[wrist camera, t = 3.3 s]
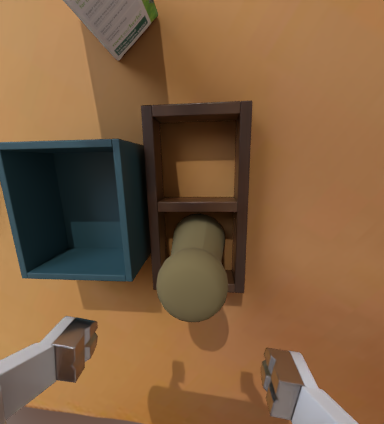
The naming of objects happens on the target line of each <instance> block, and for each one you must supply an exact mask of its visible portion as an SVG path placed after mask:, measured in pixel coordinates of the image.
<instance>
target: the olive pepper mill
mask: <svg viewBox="0 0 384 424" xmlns="http://www.w3.org/2000/svg"><path fill="white" fill-rule="evenodd" d="M224 244H225V235H224V231H223V229H222V227H221V225H220V224H219V223H218V222H217V221H216V220H215V219H214V218H212V217H210V216H208V215H204V214H192V215H189V216H187V217H185V218H183V219H182V220H181V221H180V222H179V223H178V224H177V226H176V228H175V230H174V235H173V243H172V251H171V256H170V257H169V258H167V259H166V260H165V261H164V263H163V265H162V267H161V269H160V270H159V272H158V277H157V283H156V289H157V294H158V298H159V300H160V302H161V303H162V305H163V307H164V308H165V310H166V311H167V312H169V313H170V314H171V315H172V316H174V317H175V318H177V319H179V320H182V321H187V322H200V321H203V320H206V319H209V318H210V317H212V316H213V315H214V314H216V313H217V312H218V311H219V310H220V309H221V307H222V306H223V304H224V303H225V300H226V296H227V292H228V289H229V288H228V278H227V273H226V271H225V269H224V267H223V265H222V263H221V261H222V255H223V250H224Z"/></svg>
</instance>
